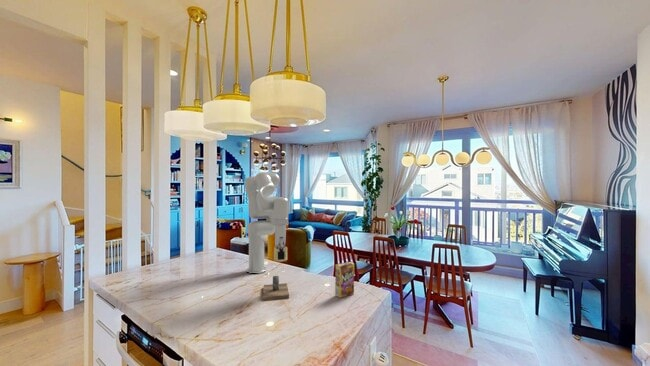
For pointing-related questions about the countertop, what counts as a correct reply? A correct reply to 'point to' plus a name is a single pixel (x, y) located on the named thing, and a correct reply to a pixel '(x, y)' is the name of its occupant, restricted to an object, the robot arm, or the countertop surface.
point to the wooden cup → (277, 254)
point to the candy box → (344, 279)
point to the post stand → (275, 290)
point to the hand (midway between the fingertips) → (280, 257)
